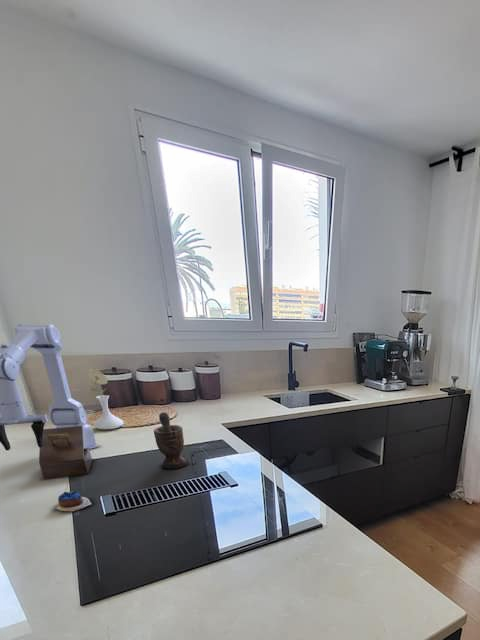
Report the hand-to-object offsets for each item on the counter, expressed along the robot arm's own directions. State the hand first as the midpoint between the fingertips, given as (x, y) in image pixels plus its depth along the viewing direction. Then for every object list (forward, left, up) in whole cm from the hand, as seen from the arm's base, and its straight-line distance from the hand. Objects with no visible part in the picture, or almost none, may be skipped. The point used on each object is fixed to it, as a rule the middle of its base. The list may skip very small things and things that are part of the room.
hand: (24, 447), depth 116 cm
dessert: (+5, +27, -11) cm, 30 cm away
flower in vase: (-47, -34, -11) cm, 59 cm away
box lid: (-10, +1, -2) cm, 10 cm away
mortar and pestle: (-28, +28, -11) cm, 41 cm away
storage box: (-10, 0, -10) cm, 14 cm away
